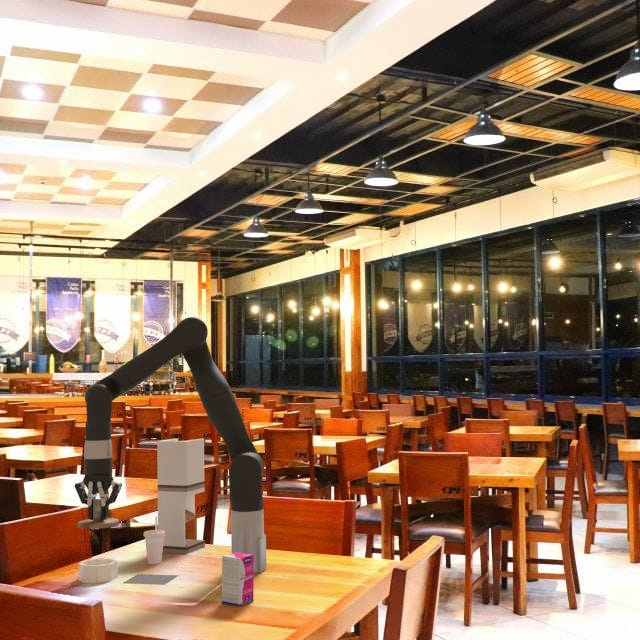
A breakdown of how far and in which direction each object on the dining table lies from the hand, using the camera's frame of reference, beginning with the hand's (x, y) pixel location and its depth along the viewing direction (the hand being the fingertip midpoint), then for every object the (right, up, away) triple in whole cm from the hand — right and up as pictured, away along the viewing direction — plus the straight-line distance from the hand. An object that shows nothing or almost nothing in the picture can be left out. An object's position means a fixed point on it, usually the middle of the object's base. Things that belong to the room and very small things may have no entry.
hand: (98, 519), depth 228 cm
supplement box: (+41, -14, -26) cm, 51 cm away
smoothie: (+12, -18, +17) cm, 27 cm away
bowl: (0, -17, -1) cm, 17 cm away
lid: (0, -2, 0) cm, 2 cm away
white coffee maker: (+17, -19, +38) cm, 46 cm away
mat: (+15, -16, -3) cm, 22 cm away
